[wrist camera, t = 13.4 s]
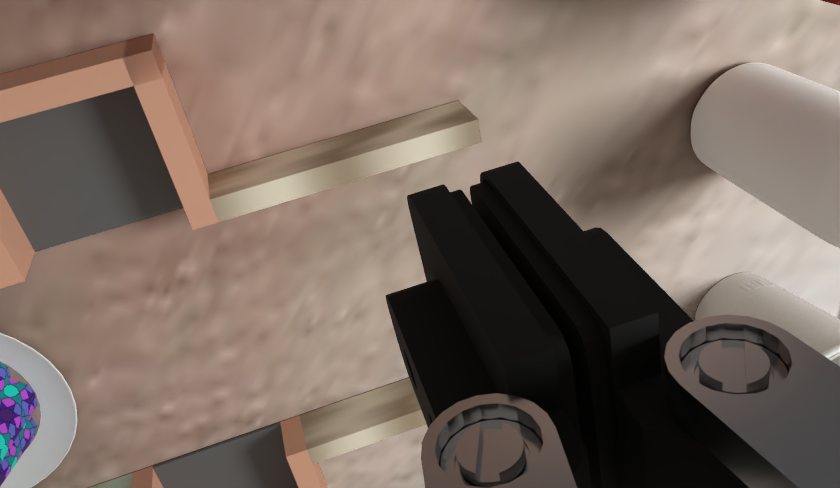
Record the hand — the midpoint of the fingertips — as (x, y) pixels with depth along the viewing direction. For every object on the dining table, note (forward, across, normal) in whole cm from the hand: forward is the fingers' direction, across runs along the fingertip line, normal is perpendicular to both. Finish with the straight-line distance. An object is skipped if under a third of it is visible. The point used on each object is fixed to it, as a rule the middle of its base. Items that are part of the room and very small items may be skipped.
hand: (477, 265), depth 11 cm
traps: (+26, +12, +17) cm, 33 cm away
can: (+27, -22, +14) cm, 38 cm away
